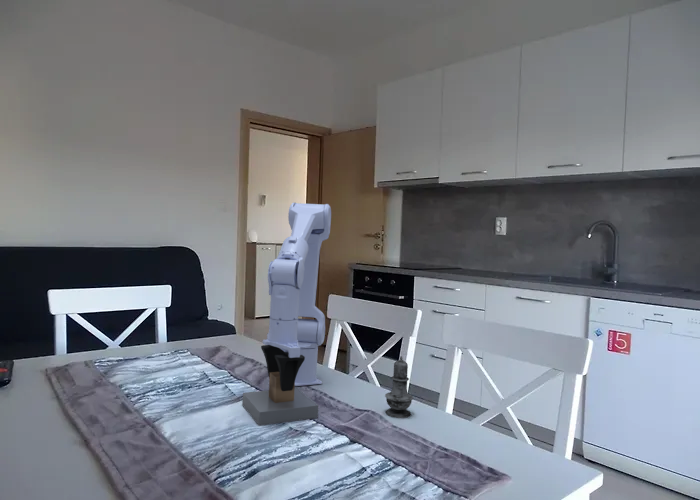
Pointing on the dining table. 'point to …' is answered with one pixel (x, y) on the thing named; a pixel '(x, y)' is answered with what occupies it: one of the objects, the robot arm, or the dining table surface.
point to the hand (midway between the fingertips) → (280, 384)
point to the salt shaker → (399, 392)
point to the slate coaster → (279, 408)
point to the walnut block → (279, 389)
